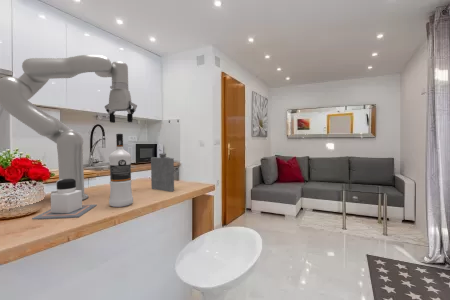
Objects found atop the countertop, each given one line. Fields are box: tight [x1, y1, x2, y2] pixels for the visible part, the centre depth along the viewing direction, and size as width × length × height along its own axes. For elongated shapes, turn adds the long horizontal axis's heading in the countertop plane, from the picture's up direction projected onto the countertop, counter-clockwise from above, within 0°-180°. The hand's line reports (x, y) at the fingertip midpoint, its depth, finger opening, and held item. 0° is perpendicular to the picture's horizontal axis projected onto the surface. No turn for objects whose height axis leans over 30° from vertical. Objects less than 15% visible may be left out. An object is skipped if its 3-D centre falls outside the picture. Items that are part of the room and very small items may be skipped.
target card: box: [31, 204, 98, 220], centre depth 87 cm, size 15×15×1 cm
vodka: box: [108, 133, 134, 208], centre depth 97 cm, size 9×9×30 cm
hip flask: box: [150, 152, 175, 193], centre depth 126 cm, size 16×4×20 cm, turn 59°
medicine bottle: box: [50, 179, 83, 214], centre depth 87 cm, size 7×7×12 cm
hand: (121, 122), depth 115 cm, fingers open, 9 cm apart
